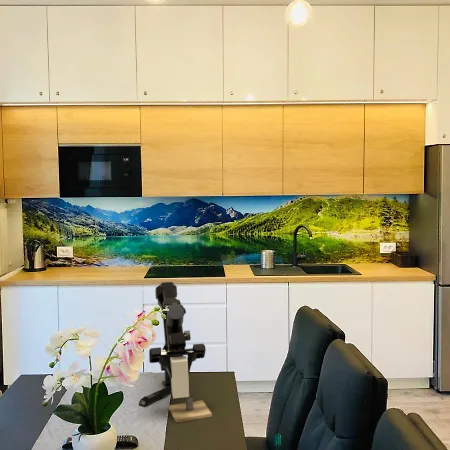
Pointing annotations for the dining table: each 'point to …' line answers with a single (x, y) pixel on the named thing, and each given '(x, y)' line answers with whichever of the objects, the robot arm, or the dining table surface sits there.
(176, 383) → the beige rectangular block
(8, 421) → the dining table surface
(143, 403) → the electric trimmer
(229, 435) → the dining table surface
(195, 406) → the post stand
